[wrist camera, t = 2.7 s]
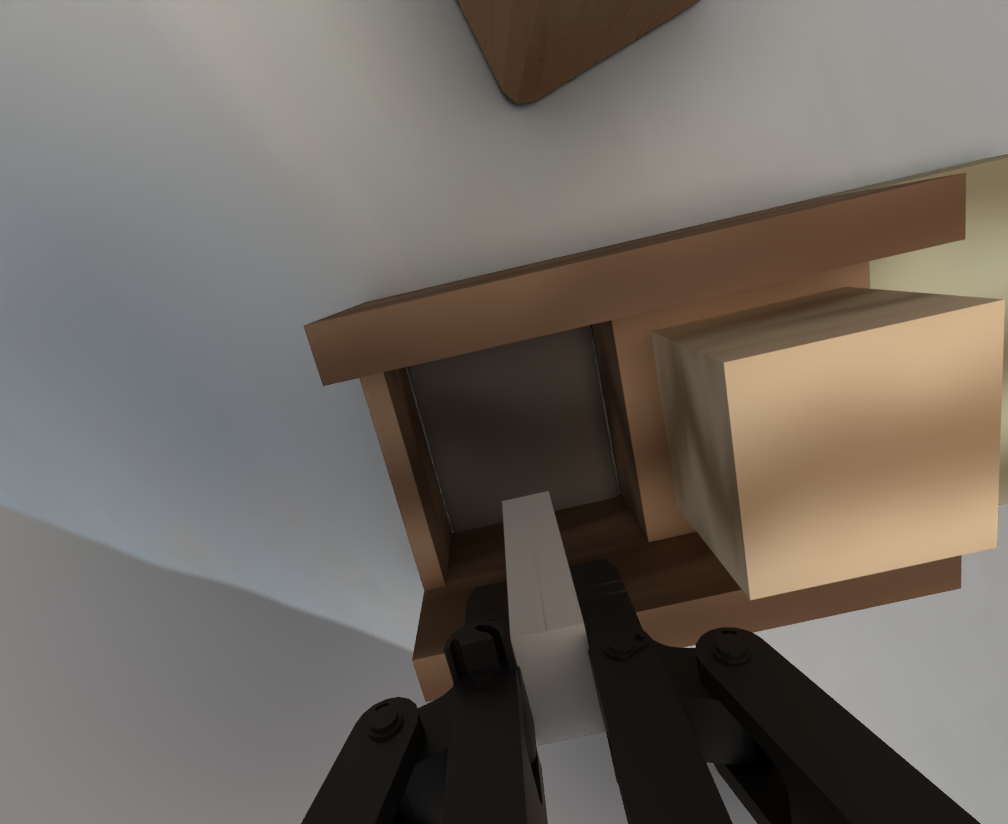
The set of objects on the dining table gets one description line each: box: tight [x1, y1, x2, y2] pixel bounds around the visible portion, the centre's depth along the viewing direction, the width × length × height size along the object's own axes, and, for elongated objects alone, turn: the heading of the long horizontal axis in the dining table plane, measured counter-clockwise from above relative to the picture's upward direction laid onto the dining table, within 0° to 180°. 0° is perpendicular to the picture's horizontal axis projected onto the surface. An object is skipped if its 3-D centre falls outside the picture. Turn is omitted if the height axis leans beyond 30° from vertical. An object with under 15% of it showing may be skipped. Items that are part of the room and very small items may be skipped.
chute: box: [304, 154, 1008, 702], centre depth 23 cm, size 15×30×10 cm, turn 103°
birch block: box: [651, 287, 1005, 600], centre depth 20 cm, size 8×8×7 cm
